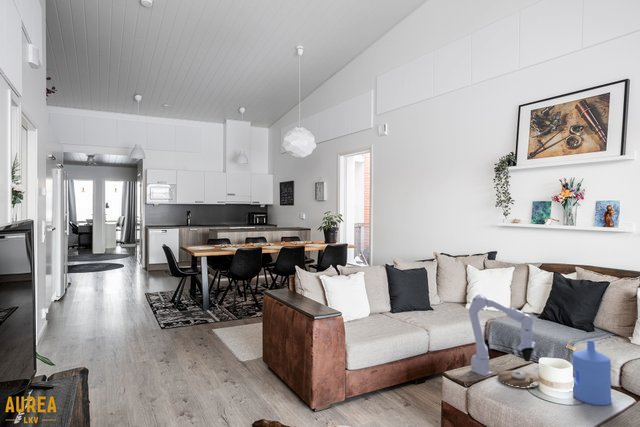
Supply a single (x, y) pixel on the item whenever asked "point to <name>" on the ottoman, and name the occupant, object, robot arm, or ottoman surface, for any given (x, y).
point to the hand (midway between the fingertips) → (526, 361)
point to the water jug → (592, 376)
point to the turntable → (506, 378)
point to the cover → (518, 375)
